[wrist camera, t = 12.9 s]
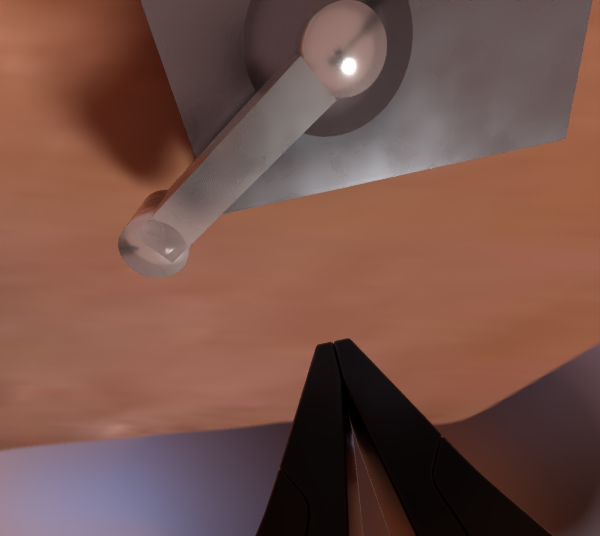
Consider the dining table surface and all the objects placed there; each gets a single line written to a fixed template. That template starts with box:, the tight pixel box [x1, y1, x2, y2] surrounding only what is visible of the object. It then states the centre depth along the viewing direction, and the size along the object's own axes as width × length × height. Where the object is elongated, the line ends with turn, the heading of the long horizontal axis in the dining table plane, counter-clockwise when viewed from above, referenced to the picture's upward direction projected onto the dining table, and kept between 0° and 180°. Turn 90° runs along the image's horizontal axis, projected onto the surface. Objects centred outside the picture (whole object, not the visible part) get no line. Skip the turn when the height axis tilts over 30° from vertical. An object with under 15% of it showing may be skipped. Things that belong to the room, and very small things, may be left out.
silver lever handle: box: [118, 0, 413, 278], centre depth 13 cm, size 13×6×4 cm, turn 133°
